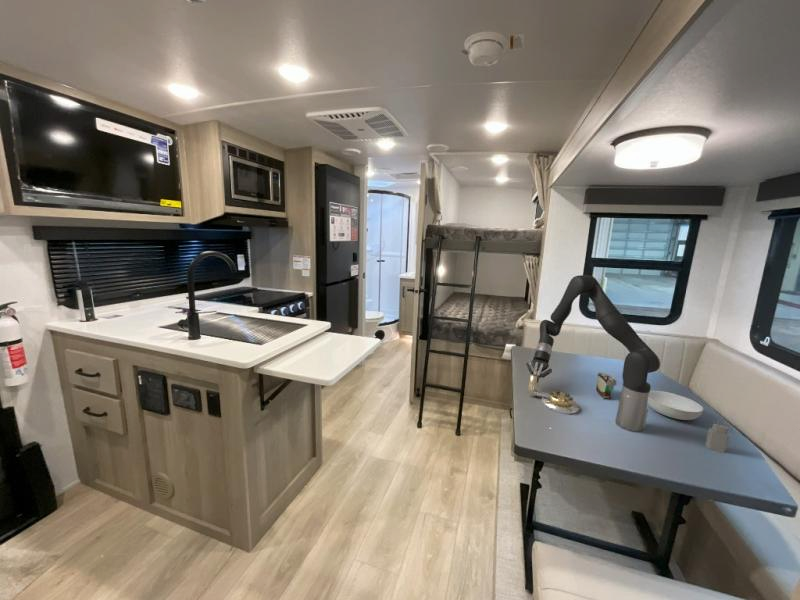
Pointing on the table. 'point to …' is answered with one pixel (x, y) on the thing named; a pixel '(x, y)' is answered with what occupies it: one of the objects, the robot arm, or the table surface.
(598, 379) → the food container
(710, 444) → the power adapter
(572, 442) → the table surface
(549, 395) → the crank handle
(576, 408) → the plate
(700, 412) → the serving bowl
